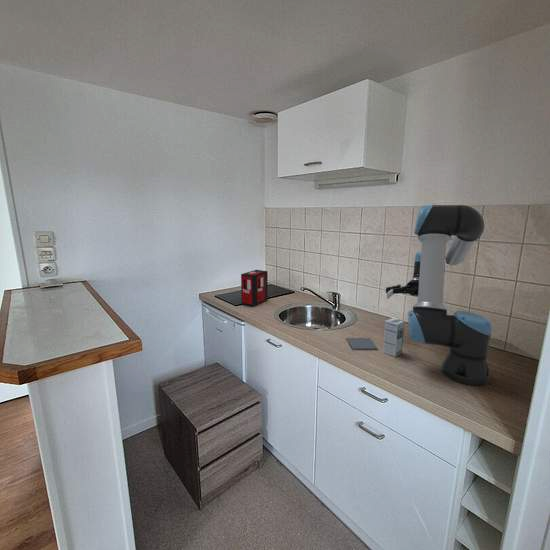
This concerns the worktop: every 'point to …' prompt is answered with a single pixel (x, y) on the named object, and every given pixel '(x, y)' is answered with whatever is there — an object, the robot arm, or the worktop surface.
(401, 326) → the syrup box
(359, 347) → the charcoal mat
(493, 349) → the worktop surface
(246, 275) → the cleaning product box
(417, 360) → the worktop surface
